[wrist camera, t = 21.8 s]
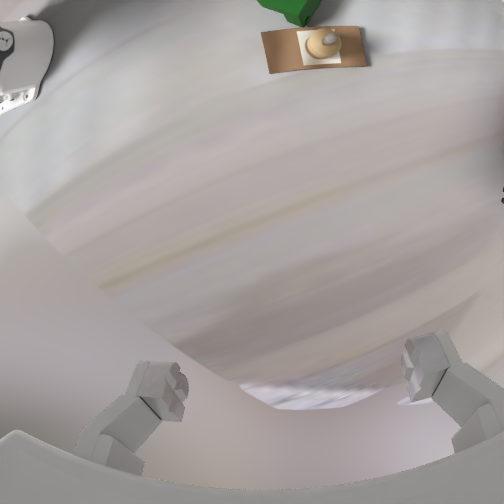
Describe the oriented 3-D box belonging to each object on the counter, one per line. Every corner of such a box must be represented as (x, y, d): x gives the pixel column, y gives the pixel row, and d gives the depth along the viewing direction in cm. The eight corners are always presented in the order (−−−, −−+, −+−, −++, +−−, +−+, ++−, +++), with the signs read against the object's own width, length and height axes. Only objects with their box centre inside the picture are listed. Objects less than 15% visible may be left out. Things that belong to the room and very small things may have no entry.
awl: (306, 59, 30) (316, 52, 23) (303, 34, 28) (313, 20, 21) (333, 59, 30) (351, 54, 22) (331, 35, 28) (349, 23, 20)
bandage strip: (269, 73, 33) (269, 73, 31) (261, 34, 30) (261, 32, 28) (363, 66, 31) (366, 66, 30) (356, 27, 28) (358, 26, 27)
